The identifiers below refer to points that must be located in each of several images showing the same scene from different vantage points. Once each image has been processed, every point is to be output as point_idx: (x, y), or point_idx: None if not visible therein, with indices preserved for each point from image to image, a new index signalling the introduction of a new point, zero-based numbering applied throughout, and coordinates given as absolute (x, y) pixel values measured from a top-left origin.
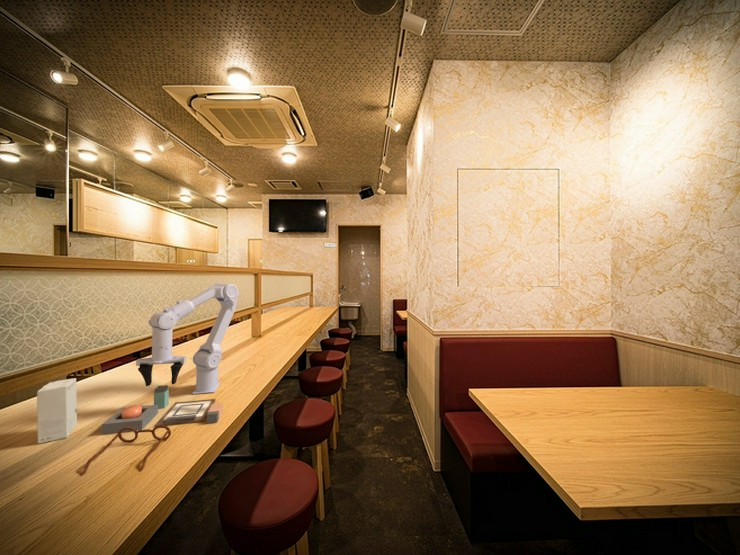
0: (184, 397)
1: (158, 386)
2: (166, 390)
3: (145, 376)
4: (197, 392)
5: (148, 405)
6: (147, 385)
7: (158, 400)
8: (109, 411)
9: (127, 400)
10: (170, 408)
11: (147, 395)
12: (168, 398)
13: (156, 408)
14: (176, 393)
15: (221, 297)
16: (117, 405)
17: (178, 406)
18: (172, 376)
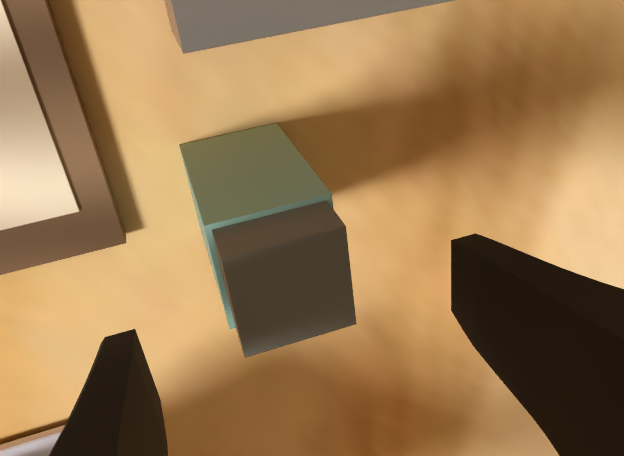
0: None
1: (347, 306)
2: (224, 283)
3: (591, 303)
4: (49, 443)
5: (288, 31)
6: (466, 240)
7: (255, 166)
8: (618, 83)
9: (569, 261)
10: (76, 109)
11: (470, 345)
12: (209, 258)
13: (170, 4)
14: (263, 406)
15: None
16: (603, 182)
17: (6, 152)
18: (107, 430)
